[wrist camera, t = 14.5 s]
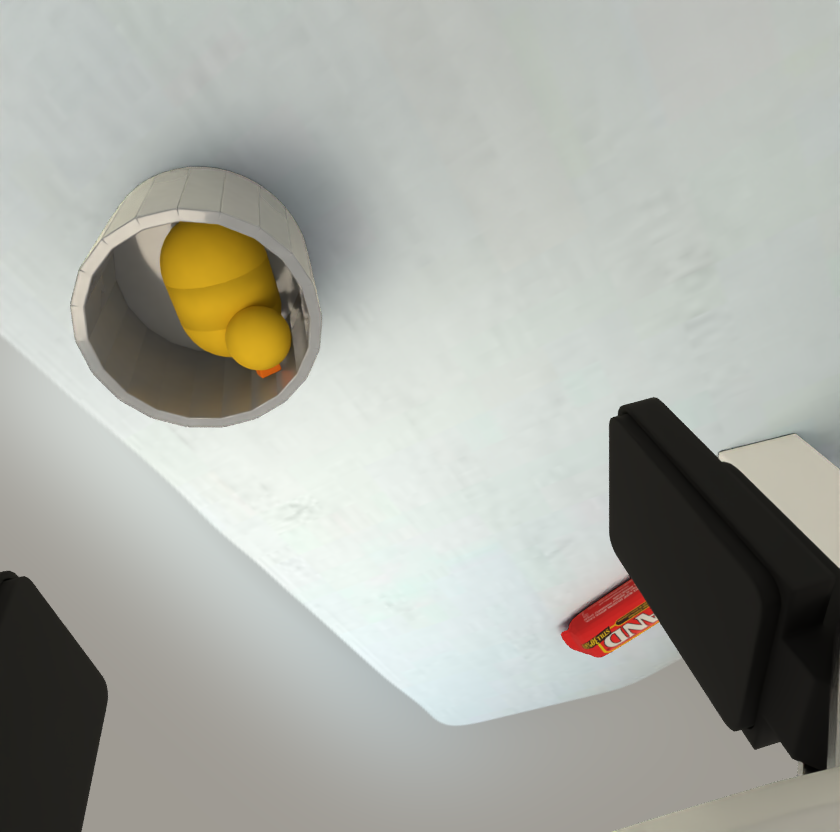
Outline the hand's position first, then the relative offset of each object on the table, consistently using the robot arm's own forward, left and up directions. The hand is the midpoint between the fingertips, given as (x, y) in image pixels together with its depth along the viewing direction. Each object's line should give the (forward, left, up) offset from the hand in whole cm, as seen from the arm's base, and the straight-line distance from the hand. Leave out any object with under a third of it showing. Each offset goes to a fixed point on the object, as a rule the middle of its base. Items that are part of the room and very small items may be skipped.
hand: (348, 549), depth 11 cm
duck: (+3, -5, -24) cm, 24 cm away
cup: (+3, -4, -24) cm, 25 cm away
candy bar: (+35, +19, -24) cm, 47 cm away
